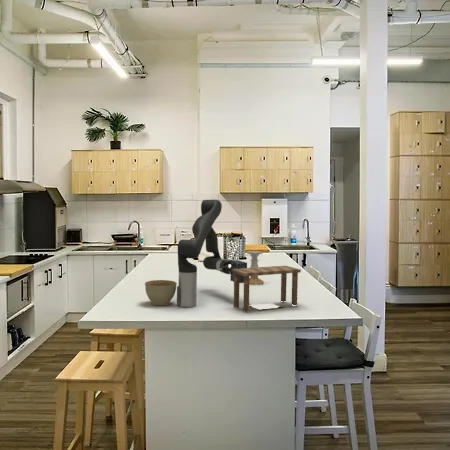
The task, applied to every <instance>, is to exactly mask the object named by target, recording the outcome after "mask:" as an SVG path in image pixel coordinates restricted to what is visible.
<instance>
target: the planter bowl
mask: <svg viewBox="0 0 450 450" xmlns="http://www.w3.org/2000/svg"><path fill="white" fill-rule="evenodd" d="M177 284H178V283H177V282H176V281H175V280H166V279H154V280H148V281H144V286H145V293H146V296H147V297H148V299H149V301H150V303H151V305H153V306H168V305H170V304H171V301H172V300H173V299H174V296H175V294H176V292H177Z"/></svg>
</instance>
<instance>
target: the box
mask: <svg viewBox="0 0 450 450" xmlns="http://www.w3.org/2000/svg"><path fill="white" fill-rule="evenodd" d="M230 261H231V268H234V269H241V268H248V262H245V261H242V260H230ZM229 279H230V282H233V283H234V273H232V272H231V274H230V278H229ZM239 284H244V276H242V275H240V280H239Z"/></svg>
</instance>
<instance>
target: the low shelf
mask: <svg viewBox="0 0 450 450" xmlns="http://www.w3.org/2000/svg"><path fill="white" fill-rule="evenodd" d="M231 272H233V273H234V282H233V308H235V307H237V308H240V283H239V280H240V275H242V276H244V283H243V303H242V304H243V306H242V307H243V308H242V309H243V312H244V311H245V312H244V313H248V312H247V311H249V312H250V306H249V305H250V285H249V280H250V277H251V276H258V277H259V276H270V275H280V302H281V301H286V302H287V278H288V277H287V276H288V274H292V275H291V305H292V304H293V305H297V306H298V284H299V283H298V281H299V280H298V279H299V273H301V272H302V270H301V268H297V267H292V266H288V265H277V266H276V265H273V266H261V267H259V266H258V267H256V268H250V267H247V268H241V269H232V271H231Z"/></svg>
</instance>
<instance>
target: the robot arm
mask: <svg viewBox="0 0 450 450" xmlns="http://www.w3.org/2000/svg"><path fill="white" fill-rule="evenodd" d="M222 208H223V206H222V202H221V201H220V200H219V199H203V200H202V201H201V204H200V212H201V215H199V216H198V218H196V220H195V221H194V223H193V225H192V227H191V228H192V229H191V230H192V234H193V237H195V239H180V240H179V241H178V243H177V267H178V286H177V285H176V305H177V306H178V307H180V308H193V307H197V305H198V304H197V303H198V301H197V300H198V299H197V297H198V296H197V295H198V293H197V292H198V287H197V286H198V281H197V280H198V267H197V265H196V264H193V263H191V261H189V260H188V259H197V258H198V257H199V255H200V254H201V252H202V250H203V246H204V243H205V251H206V252H207V253H212V254H213V255H212V256H206V257H205V258H204V259H203V261H202V264H203V267H204V268H205V269H207V270H212V271H217V272H220V273H221V274H226V275H231V271H232V269H234V268H231V261H232V260H230V259H227V258H222V257H221V253H220V250H219V239H218V234H217V233H216V231H215V230H214V227H213V225H214V223H215V222H216V220H217V219H218V217H219V216H220V214H221V213H222ZM232 273H233V272H232Z"/></svg>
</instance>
